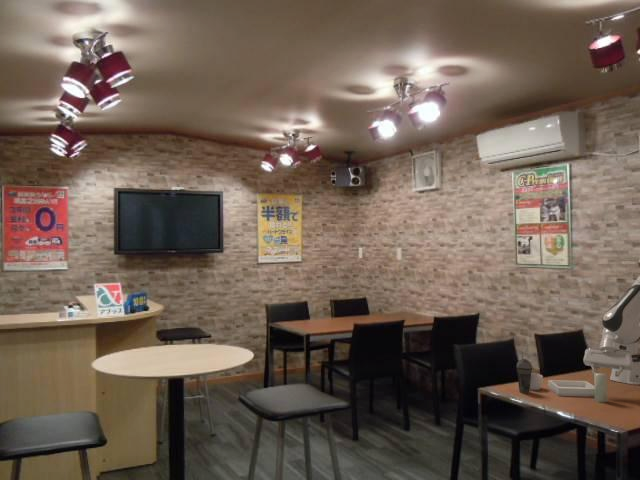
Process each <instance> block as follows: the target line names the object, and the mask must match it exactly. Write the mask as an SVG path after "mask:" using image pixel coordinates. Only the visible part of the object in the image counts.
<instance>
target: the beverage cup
mask: <svg viewBox="0 0 640 480" xmlns="http://www.w3.org/2000/svg"><path fill="white" fill-rule="evenodd" d="M520 353H521V359H519V360H518V361H517V363H516V372H517V382H518V390H519V393H520V394H530V391H531V389H530V381H531V373H532V372H533V365H532V363H531V361H530V360H528V359H525V358H524V356H523V349H520Z"/></svg>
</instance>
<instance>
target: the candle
mask: <svg viewBox="0 0 640 480" xmlns="http://www.w3.org/2000/svg"><path fill="white" fill-rule="evenodd" d="M543 378H544V376H543V375H542V374H538V373H535V372H534V373H531V381H530V391H533V390H534V391H539V390H541V388H542V383H543Z"/></svg>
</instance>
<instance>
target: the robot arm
mask: <svg viewBox="0 0 640 480" xmlns="http://www.w3.org/2000/svg"><path fill="white" fill-rule="evenodd" d="M638 267H639V268H640V257H639V259H638ZM601 323H602V327H603V329H602V332H601V333H602V334H601V340H600V343H599V348H597V347H596V348H595V347H589V348H586V349H585V350H584V356H583V359H582V360H583V361H582V362H583V364H584V365H585V366H589V367H591V369H592V371H591V372H592V374H593V375H594V373H598V371H597V368H596V367H598V368H604V369H605V368H606V369H611V374H610V376H609V377H610V378H609V379H610V380H611V381H614V382H617V383H623V384H628V385H640V354H639V353H638V342H639V341H640V275H639V276H638V277H637V278H636V280H634V282H633V283H632V285H631V286H630V287H629V288H628V289H627V291H625V293H623V295H622V296H621V297H620V298H619V299H618V300H617V301H616V302H615V304H614V305H613V306H612V307H610V309H608V310H607V311H606V312H605V313H604V314H603V316H602V318H601Z"/></svg>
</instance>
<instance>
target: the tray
mask: <svg viewBox="0 0 640 480" xmlns="http://www.w3.org/2000/svg"><path fill="white" fill-rule="evenodd" d="M547 388H548V389H549V390H551V391H552V392H554V393H555V394H556V395H557V396H559V397H583V398H584V397H586V398H587V397H588V398H594V385H593V384H592V383H590V382H589V381H587V380H563V379H562V380H561V379H558V380H557V379H556V380H555V379H553V380H552V379H548V380H547Z"/></svg>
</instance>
